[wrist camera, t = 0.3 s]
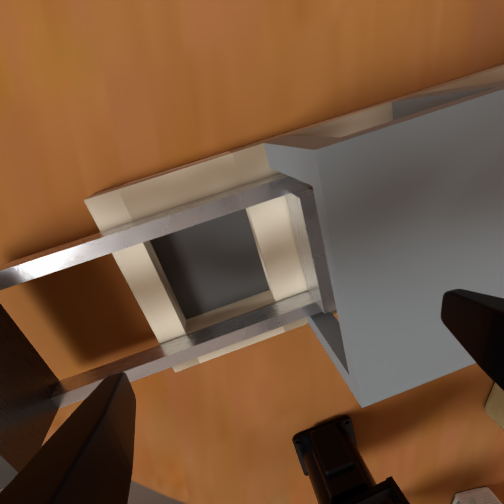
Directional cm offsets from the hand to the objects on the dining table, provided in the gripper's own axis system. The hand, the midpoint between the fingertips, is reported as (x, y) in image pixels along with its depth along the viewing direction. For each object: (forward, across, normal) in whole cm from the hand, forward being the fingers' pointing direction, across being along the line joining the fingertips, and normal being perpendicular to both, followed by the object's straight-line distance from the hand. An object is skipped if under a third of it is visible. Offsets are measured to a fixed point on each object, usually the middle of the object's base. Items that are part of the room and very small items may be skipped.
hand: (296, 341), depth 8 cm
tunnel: (+12, -9, +2) cm, 15 cm away
